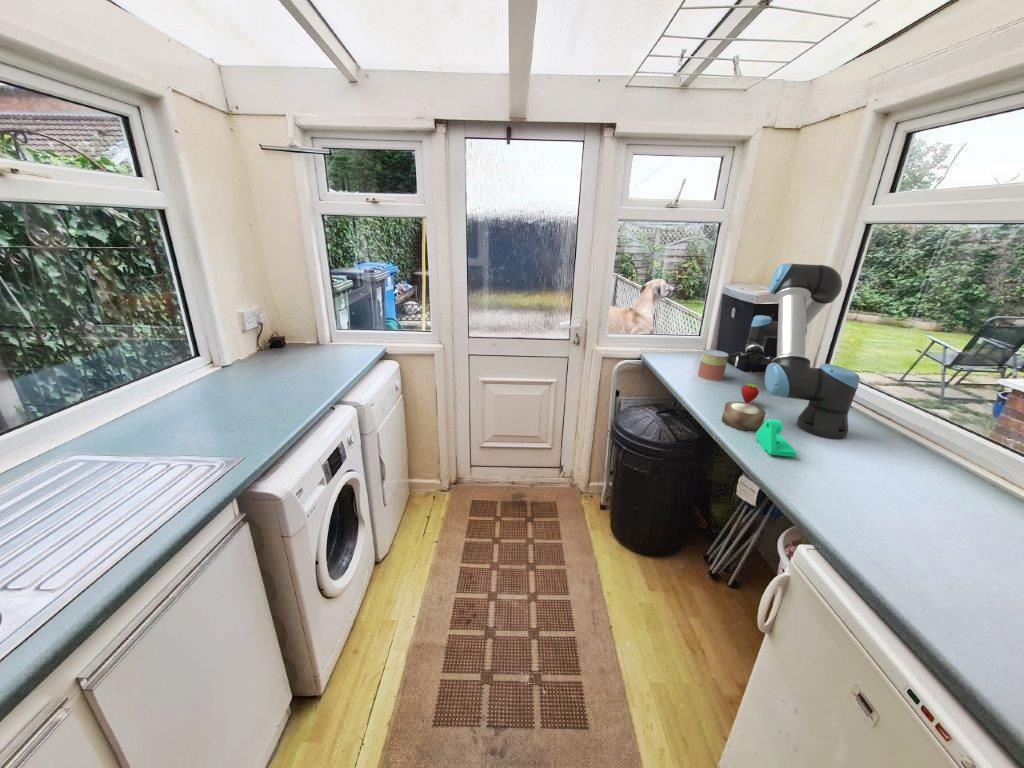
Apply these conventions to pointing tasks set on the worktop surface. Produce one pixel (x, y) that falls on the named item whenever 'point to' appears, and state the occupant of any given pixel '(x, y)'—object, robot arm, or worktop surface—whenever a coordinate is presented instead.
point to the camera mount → (774, 439)
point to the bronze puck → (743, 416)
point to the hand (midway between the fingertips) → (754, 366)
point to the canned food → (713, 365)
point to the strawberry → (749, 392)
